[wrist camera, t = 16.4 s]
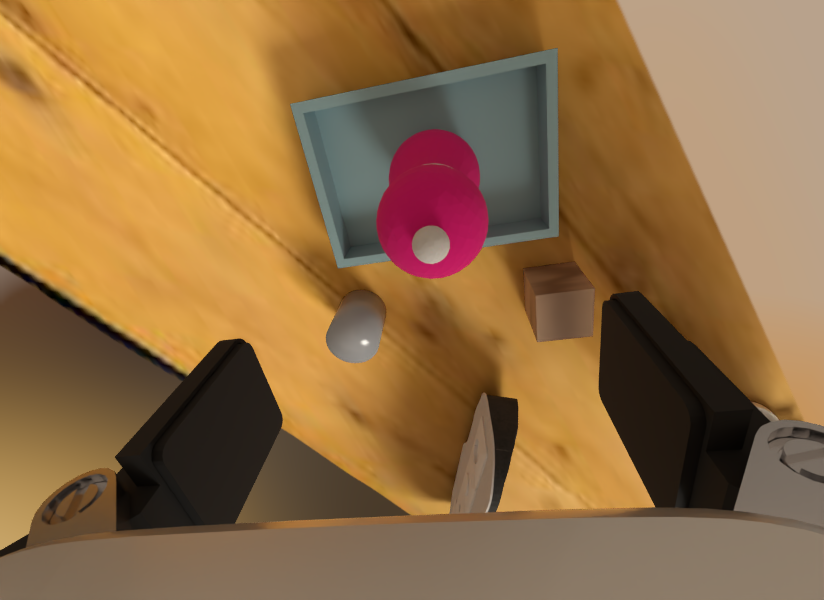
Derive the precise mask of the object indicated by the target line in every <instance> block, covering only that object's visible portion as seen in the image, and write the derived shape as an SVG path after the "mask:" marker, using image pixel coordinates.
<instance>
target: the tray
mask: <svg viewBox="0 0 824 600" xmlns="http://www.w3.org/2000/svg"><path fill="white" fill-rule="evenodd" d="M290 105H291V109H292V112H293V116H294V119H295V123H296V126H297V129H298V133H299V136H300V140H301V143H302V147H303V150H304V153H305V157H306V160H307V164H308V167H309V171H310V174H311V177H312V181H313V184H314V188H315V191H316V195H317V198H318V201H319V205H320V208H321V212H322V215H323V219H324V222H325V225H326V229H327V232H328V236H329V239H330V243H331V246H332V249H333V253H334V256H335V260H336V263H337V267H338V268H344V267H351V266H358V265H364V264H371V263H378V262H385V261H391V260H390V258H389V257H388V256H387V254H386V253H385V252H384V250H383V248H382V246H381V244H380V241H379V238H378V233H377V226H376V218H377V210H378V207H379V203H380V201H381V198H382V196H383V193H384V192H385V191H386V189H387V188H388V187H389V170H390V166H391V162H392V159H393V157H394V154H395V153H396V151H397V149H398V148H399V147H400V146H401V144H402V143H403V142H404V141H406V140H407V139H408V138H409V137H411V136H413V135H414V134H416V133H419V132H421V131H425V130H431V129H439V130H445V131H449V132H452V133H454V134H456V135H458V136H459V137H461V138H462V139H463V140H464V141H466V142H467V143H468V145H469V146H470V147H471V148H472V150H473V152H474V153H475V155H476V158H477V161H478V164H479V170H480V185H479V190H480V191H481V193H482V195H483V197H484V200H485V202H486V206H487V210H488V220H489V222H488V231H487V235H486V239H485V242H484V244H483V246H482V247H489V246H495V245H502V244H509V243H516V242H523V241H530V240H537V239H544V238H551V237H557V236H559V181H558V48H555V49H550V50H545V51H541V52H536V53H531V54H526V55H522V56H517V57H512V58H507V59H502V60H498V61H493V62H488V63H483V64H479V65H474V66H469V67H464V68H460V69H455V70H450V71H445V72H440V73H436V74H431V75H426V76H421V77H417V78H412V79H407V80H402V81H398V82H393V83H388V84H383V85H378V86H374V87H369V88H364V89H359V90H355V91H350V92H345V93H340V94H336V95H331V96H326V97H321V98H317V99H312V100H307V101H302V102H297V103H293V104H290Z"/></svg>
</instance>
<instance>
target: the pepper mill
mask: <svg viewBox="0 0 824 600" xmlns="http://www.w3.org/2000/svg"><path fill="white" fill-rule="evenodd" d="M479 185H480V170H479V164H478V161H477V158H476V155H475V153H474V152H473V150H472V148H471V147H470V146H469V145H468V143H467V142H466V141H464V140H463V139H462V138H461V137H459V136H458V135H456V134H454V133H452V132H449V131H445V130H439V129H431V130H425V131H421V132H419V133H416V134H414V135H413V136H411V137H409V138H408V139H407V140H406V141H404V142H403V143H402V144H401V146H400V147H399V148H398V149H397V151H396V153H395V154H394V157H393V159H392V162H391V166H390V170H389V187H388V188H387V189H386V191H385V192H384V193H383V196H382V198H381V201H380V203H379V207H378V210H377V218H376V226H377V233H378V238H379V241H380V244H381V246H382V248H383V250H384V252H385V253H386V254H387V256H388V257H389V258H390V260H391V261H392V262H393V263H394V264H395V265H396V266H398V267H399V268H400V269H402V270H403V271H405V272H407V273H409V274H411V275H414V276H418V277H423V278H430V279H433V278H443V277H446V276H450V275H452V274H455V273H457V272H459V271H460V270H462V269H463V268H465V267H466V266H467V265H469V264H470V263H471V262H472V261H473V259H474V258H475V257H476V256H477V255H478V253H479V252H480V250H481V249H482V246H483V244H484V242H485V239H486V235H487V231H488V222H489V220H488V210H487V206H486V202H485V200H484V197H483V195H482V193H481V191H480V190H479Z"/></svg>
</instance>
